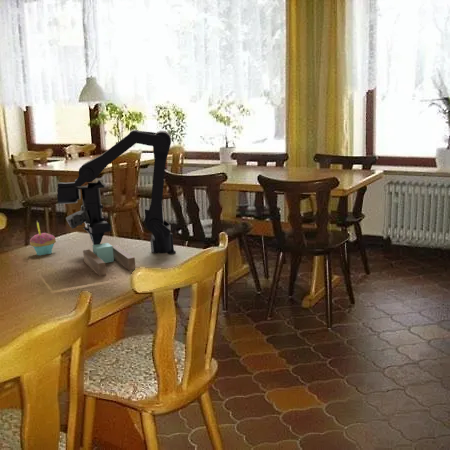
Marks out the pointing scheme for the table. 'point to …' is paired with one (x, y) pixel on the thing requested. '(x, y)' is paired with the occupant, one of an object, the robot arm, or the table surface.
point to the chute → (99, 264)
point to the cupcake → (42, 242)
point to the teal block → (104, 252)
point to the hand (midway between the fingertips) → (96, 249)
